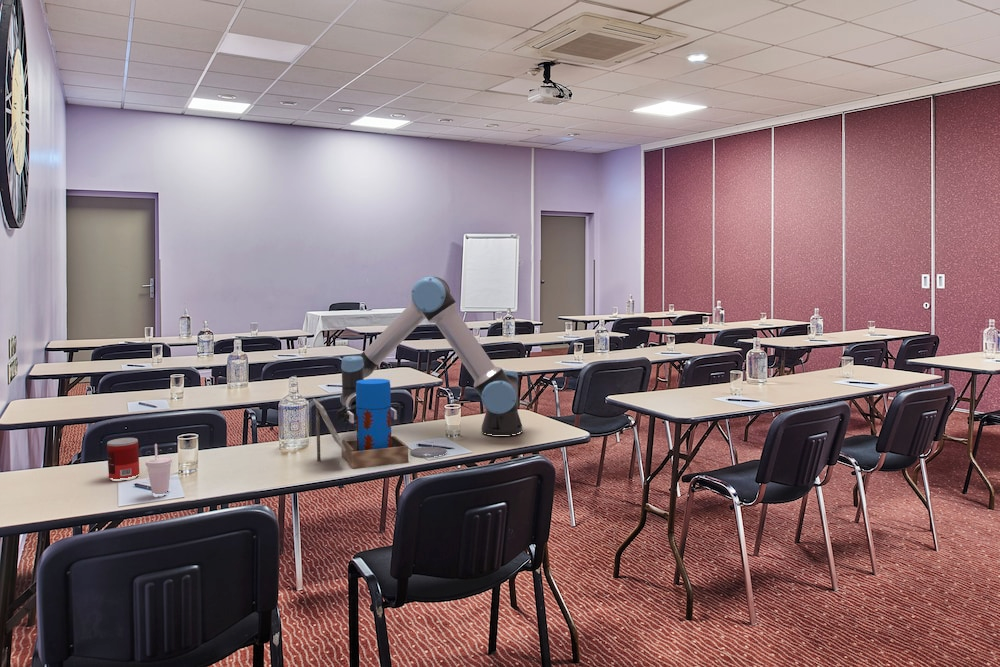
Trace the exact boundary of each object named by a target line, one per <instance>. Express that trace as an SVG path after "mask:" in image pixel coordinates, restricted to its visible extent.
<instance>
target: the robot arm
mask: <svg viewBox="0 0 1000 667" xmlns="http://www.w3.org/2000/svg"><path fill="white" fill-rule="evenodd" d="M457 304H458V303H457V302H456V300H455V298H454V297H453V295H452V294H451V289H450V286H449V284H448V282H446V280H444V279H443V278H440V277H439V276H425V277H422V278H421V279H419V280H418V281H417V282H415V284H414V285H413V287H412V289H411V299H410V304H409V305H407V307H406V308H405V309H403V311H402V312H401V313H400V314H398V316H397V317H396V318H395V319H394V320H393V321H392V322H391V323H390V324H389V325H388V326H387V327H386V328H385V329H384V330H383V331H382V332H381V333H380V334H379V335H378V336H377V337H376V338H375V339H374V340H373V341H372V342H371V344H369V345H368V346H367V347H366V348H365V350H363V351H362V352H361V354H360V355H347V356H343V357H342V359H341V365H340V366H341V388H342V389H341V394H340V397H339V398H340V399H339V401H340V404H341V405H342V407H341V408H340V409H338V410H337V411H336V420H341V419H342V421H343V422H347V421H348V422H349V423H350V424H355V418H356V382H357V381H359V380H364V379H365V378H367V377H370V375H372V374H373V373H374V372H375V369H377V367H378V366H379V365H380V364H382V363H383V361H385V359H386V358H388V356H389V355H390V354H391V353H392V352H393V351H394V350H396V348H397V347H398V346H399V345H400V344H401V343H402V342H403V341H404V340H405V339H406V338H407V337H408V336H409V335H410V334H412V332H413V331H414V330H415V329H416V328H417V327H418V326H419V325H420V324H421V323H422V322H423V321H424V320H425V319H427V321H428V322H429V323H431V324H432V323H433V324H435V325H436V327H437V329H439V331H440V333H441V334H442V336H443V337H444V338H445V340H446V341H447V342H448V344H449V345H450V346H451V349H452V350H453V351H454V352H455V354H456V355H457V356H456V357H458V358H459V360H460V361H461V363H462V365H463V366H464V367H465V369H466V370H467V372H468V373H469V374H470V376H471V377H472V379H473V380H474V381H473V382H474V383H473V388H474V389H475V391H476V393H477V394H478V395H479V397H480V398H481V402H482V405H483V406H484V408H485V410H486V411H485V414H484V417H483V420H482V424H481V433H482V432H483V433H486V434H492V435H512V434H517V433H519V432H521V431H522V432H523V424H522V420H521V417H520V415H519V412H518V411H519V410H518V409H519V407H518V406H519V405H518V404H519V402H518V400H519V397H518V394H519V392H518V390H519V389H518V388H519V385H518V383H519V376H518V372H517V371H515V370H504V369H503V368H502V367H500V366H495V364H494V363H493V362H492V359H490V357H489V355H488V353H486V351H485V349H483V347H482V345H481V344H480V343H479V341H478V339H477V337H476V336H475V335H474V334H473V333H472V330H471V329H470V328H469V327H468V325H467V323H466V322H465V321H464V319H463V318H462V316H461V315H460V314H459V312H458V311H457ZM399 414H400V406H398V405H395V404H391V419H393V420H397V419H398V418H397V417H398V415H399Z"/></svg>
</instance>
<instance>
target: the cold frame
mask: <svg viewBox="0 0 1000 667" xmlns="http://www.w3.org/2000/svg"><path fill="white" fill-rule="evenodd" d="M312 400H313V402H314V405H315V407H316V408H315V418H316V419H315V423H316V425H315V426H316V429H315V430H316V459H317V460H316V461H317V462H318V463H319V461H320V462H321V430H320V429H321V426H320V424H321V422H320V417H322V420H323V421H324V423H325V425H326V427H327V430H328V431H329V433H330V434H331V437H332V438H333V441H335V443H336V444H337V446H339V448H341V457H342V459H343V460H344V461H345V462H346V463H347V465H348V466H349V467H350V468H351V469H352V470H353V469H361V468H370V467H378V466H387V465H388V466H389V465H397V464H404V463H406V464H407V463H409V446H408V445H407V444H406V443H405V442H403V441H402V440H401V439H400V438H398V437H397V436H395V435H391V448H383V449H373V450H364V451H357V439H350V440H345V439H341V438H340V435H339V434H338V432H337V429H336V428H335V427H334V424H333V422H332V421H331V419H330V417H329V415H328V413H327V411H326V409H325V407H324V406H323V405H322V404H321V403H320V402H319V401H318V400H317V399H315V398H313V399H312Z"/></svg>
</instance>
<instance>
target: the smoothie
mask: <svg viewBox="0 0 1000 667" xmlns="http://www.w3.org/2000/svg"><path fill="white" fill-rule="evenodd" d="M172 463H173V458H172V457H169V456H159V457H158V444H157V443H155V444H154V457H152V458H148V459H147V460H146V461H145V466H146V467H147V472H148V478H149V484H150V488H151V489H150V490H151V494H152V493H155V494H163V493H165V492H167V491H168V492H169V488H170V478H171V467H172V466H171V465H172Z"/></svg>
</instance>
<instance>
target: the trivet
mask: <svg viewBox="0 0 1000 667" xmlns="http://www.w3.org/2000/svg"><path fill="white" fill-rule="evenodd" d="M446 452H447V453H448V450H447V449H446V448H444V447H439V446H423V447H422V446H420V447H417V448H413V449H411V450H410V451H409V455H410V456H412V457H414V458H418V459H419V458H421V459H424V458H423V457H434V456H439V455H443V454H445V453H446Z"/></svg>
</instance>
